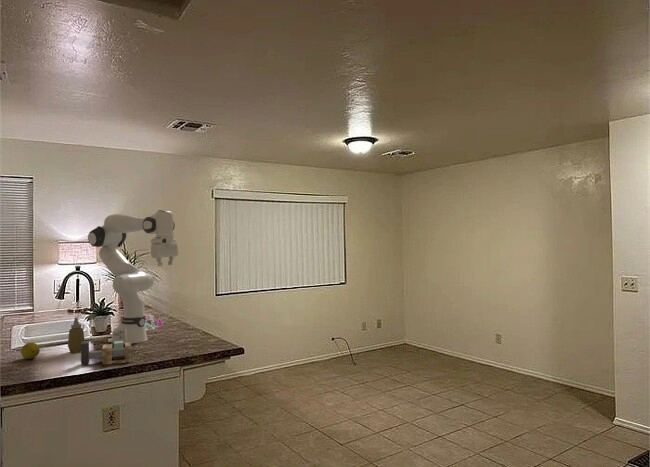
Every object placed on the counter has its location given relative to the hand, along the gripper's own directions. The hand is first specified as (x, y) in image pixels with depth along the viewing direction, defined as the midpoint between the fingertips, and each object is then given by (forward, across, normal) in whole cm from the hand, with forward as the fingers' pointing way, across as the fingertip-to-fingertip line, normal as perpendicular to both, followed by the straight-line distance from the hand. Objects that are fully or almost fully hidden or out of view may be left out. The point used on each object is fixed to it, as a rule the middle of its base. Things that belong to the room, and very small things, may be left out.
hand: (165, 265), depth 253 cm
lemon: (+45, +34, -54) cm, 78 cm away
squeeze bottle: (+45, +18, -41) cm, 63 cm away
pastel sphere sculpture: (+45, -47, -46) cm, 80 cm away
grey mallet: (+44, +31, -11) cm, 55 cm away
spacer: (+39, +29, -7) cm, 49 cm away
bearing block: (+44, +29, -8) cm, 54 cm away
